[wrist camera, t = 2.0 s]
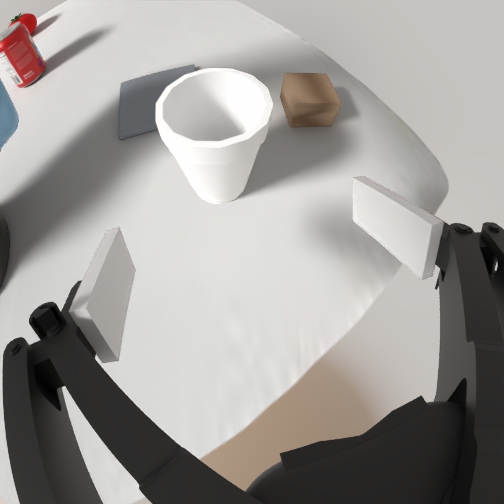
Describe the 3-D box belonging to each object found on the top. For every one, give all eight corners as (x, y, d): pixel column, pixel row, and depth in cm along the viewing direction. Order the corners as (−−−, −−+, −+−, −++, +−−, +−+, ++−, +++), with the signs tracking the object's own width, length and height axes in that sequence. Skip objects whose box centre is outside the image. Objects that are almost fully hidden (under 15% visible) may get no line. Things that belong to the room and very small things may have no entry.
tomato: (41, 23, 46) (32, 2, 37) (39, 34, 44) (28, 11, 34) (14, 41, 44) (4, 21, 35) (11, 53, 42) (-2, 32, 33)
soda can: (15, 95, 37) (-15, 51, 22) (23, 74, 39) (-2, 32, 24) (43, 80, 38) (15, 30, 23) (50, 60, 40) (27, 14, 25)
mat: (120, 139, 34) (118, 136, 33) (122, 86, 37) (120, 82, 36) (206, 118, 35) (205, 114, 34) (194, 68, 38) (194, 64, 37)
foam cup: (219, 135, 35) (215, 56, 22) (276, 176, 33) (296, 100, 21) (164, 184, 32) (132, 111, 20) (220, 233, 31) (212, 171, 19)
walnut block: (289, 128, 36) (296, 103, 31) (279, 97, 37) (284, 73, 32) (331, 126, 36) (341, 103, 31) (318, 97, 38) (326, 73, 33)
